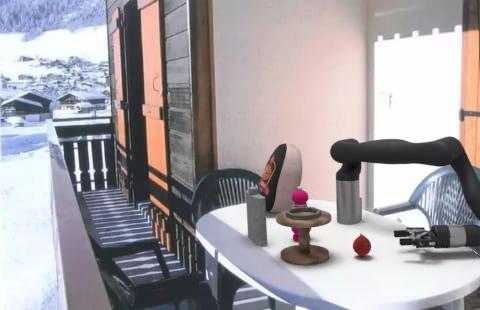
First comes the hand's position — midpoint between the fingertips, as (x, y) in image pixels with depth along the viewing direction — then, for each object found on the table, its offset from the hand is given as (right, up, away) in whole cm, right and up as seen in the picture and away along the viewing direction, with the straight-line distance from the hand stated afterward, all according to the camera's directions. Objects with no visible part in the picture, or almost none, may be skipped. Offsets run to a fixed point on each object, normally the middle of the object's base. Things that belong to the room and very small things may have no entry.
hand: (396, 237), depth 178 cm
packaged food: (-33, +2, +64) cm, 72 cm away
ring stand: (-29, -7, +5) cm, 30 cm away
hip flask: (-45, -5, +25) cm, 51 cm away
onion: (-11, -7, +2) cm, 13 cm away
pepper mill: (-28, -4, +23) cm, 37 cm away
